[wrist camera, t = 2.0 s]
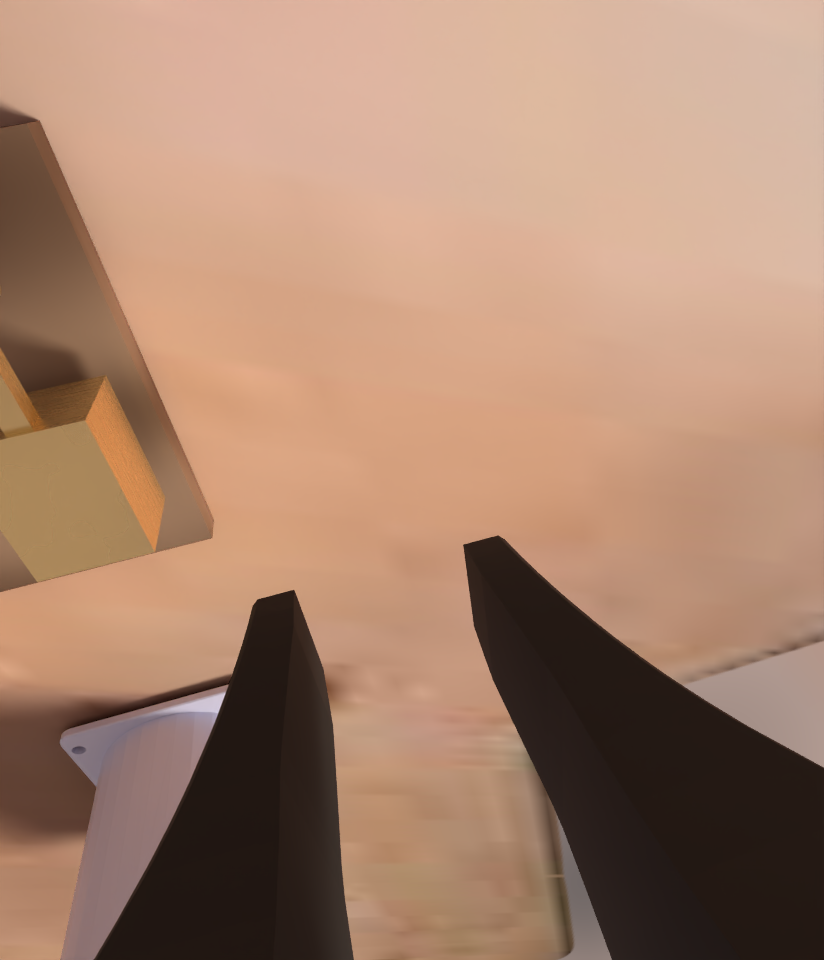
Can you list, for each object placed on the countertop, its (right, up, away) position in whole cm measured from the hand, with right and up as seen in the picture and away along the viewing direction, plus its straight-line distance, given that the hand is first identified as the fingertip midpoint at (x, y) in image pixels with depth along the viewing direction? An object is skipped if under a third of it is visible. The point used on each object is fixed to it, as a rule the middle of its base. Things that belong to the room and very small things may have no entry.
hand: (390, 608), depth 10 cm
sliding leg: (-9, +4, +5) cm, 11 cm away
